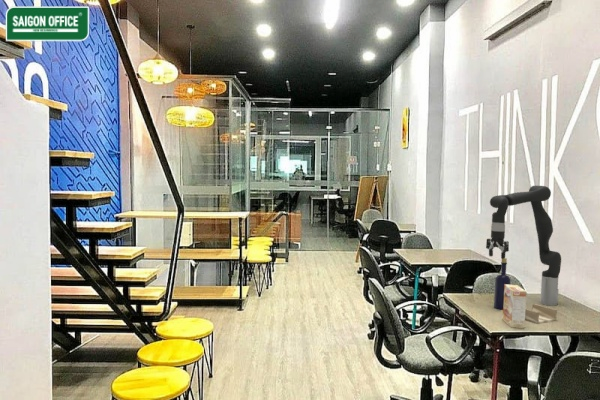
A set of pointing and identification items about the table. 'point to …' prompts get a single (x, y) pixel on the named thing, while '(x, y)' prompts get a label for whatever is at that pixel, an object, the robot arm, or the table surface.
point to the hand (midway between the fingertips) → (496, 257)
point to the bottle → (501, 286)
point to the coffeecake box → (514, 306)
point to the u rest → (540, 314)
